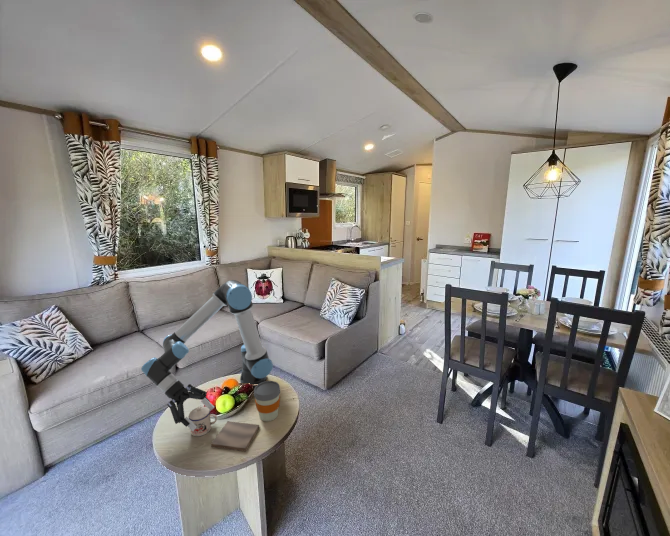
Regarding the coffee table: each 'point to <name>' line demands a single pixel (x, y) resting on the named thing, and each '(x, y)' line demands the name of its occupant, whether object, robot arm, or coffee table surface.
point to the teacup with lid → (201, 420)
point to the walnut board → (235, 436)
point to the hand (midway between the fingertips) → (204, 418)
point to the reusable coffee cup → (267, 399)
